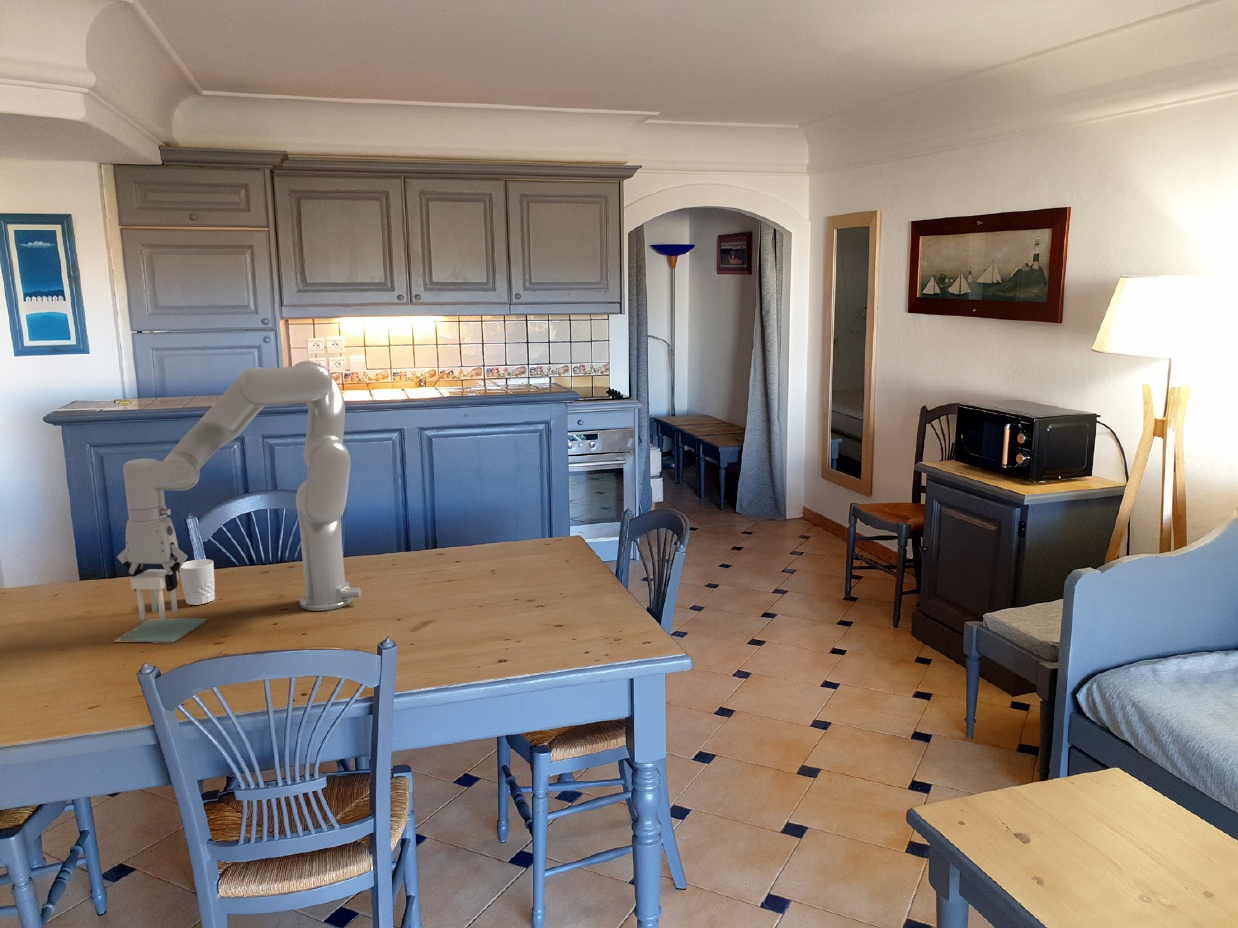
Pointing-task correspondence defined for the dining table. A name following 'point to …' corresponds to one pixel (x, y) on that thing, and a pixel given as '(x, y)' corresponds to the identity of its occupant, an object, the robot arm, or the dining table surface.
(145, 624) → the mat
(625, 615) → the dining table surface
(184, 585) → the white cup
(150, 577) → the stool
